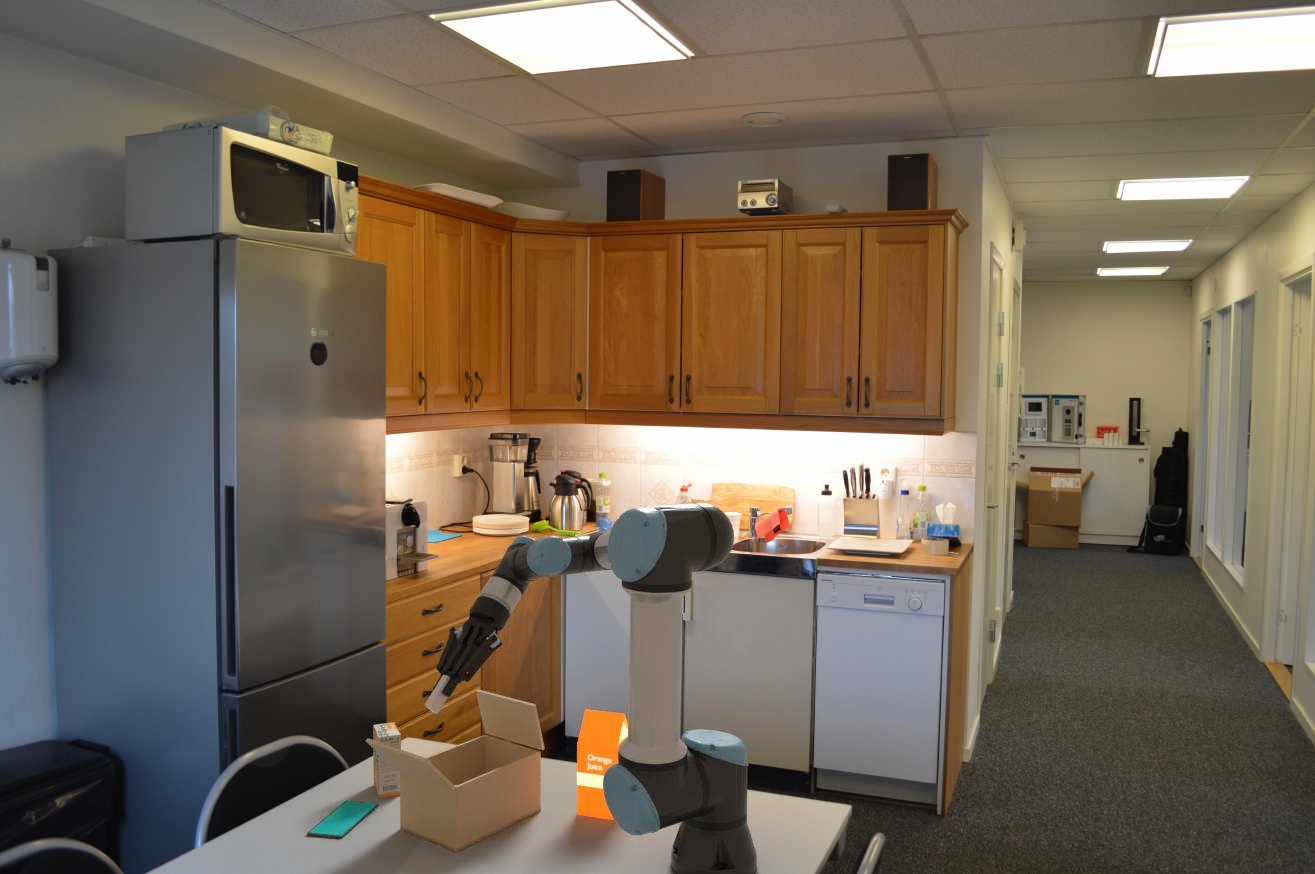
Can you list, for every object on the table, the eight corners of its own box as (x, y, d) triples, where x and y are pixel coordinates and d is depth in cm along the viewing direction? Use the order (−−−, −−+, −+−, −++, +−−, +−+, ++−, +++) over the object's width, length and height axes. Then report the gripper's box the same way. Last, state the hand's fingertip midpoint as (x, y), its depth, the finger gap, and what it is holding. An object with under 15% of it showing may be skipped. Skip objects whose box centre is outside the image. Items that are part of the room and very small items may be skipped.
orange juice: (617, 820, 182) (617, 719, 181) (576, 814, 185) (576, 714, 184) (631, 804, 189) (631, 707, 189) (591, 798, 192) (591, 703, 192)
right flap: (542, 750, 186) (544, 748, 187) (533, 705, 184) (535, 704, 184) (485, 732, 196) (487, 731, 197) (475, 690, 194) (477, 689, 194)
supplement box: (372, 784, 199) (372, 724, 199) (395, 781, 201) (395, 721, 201) (378, 799, 192) (377, 736, 191) (402, 795, 194) (401, 733, 193)
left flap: (426, 758, 162) (424, 761, 162) (456, 787, 168) (454, 790, 168) (367, 737, 172) (365, 740, 172) (397, 766, 178) (395, 768, 178)
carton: (540, 810, 187) (540, 751, 186) (456, 852, 169) (456, 787, 169) (485, 790, 196) (485, 734, 196) (400, 828, 178) (399, 766, 178)
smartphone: (306, 833, 175) (346, 800, 190) (306, 837, 176) (346, 804, 190) (342, 836, 174) (379, 803, 189) (342, 841, 174) (379, 807, 189)
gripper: (528, 619, 185) (466, 726, 172) (481, 611, 193) (419, 713, 179) (508, 597, 181) (443, 705, 167) (462, 590, 188) (396, 692, 175)
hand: (431, 709), depth 173 cm, fingers closed
